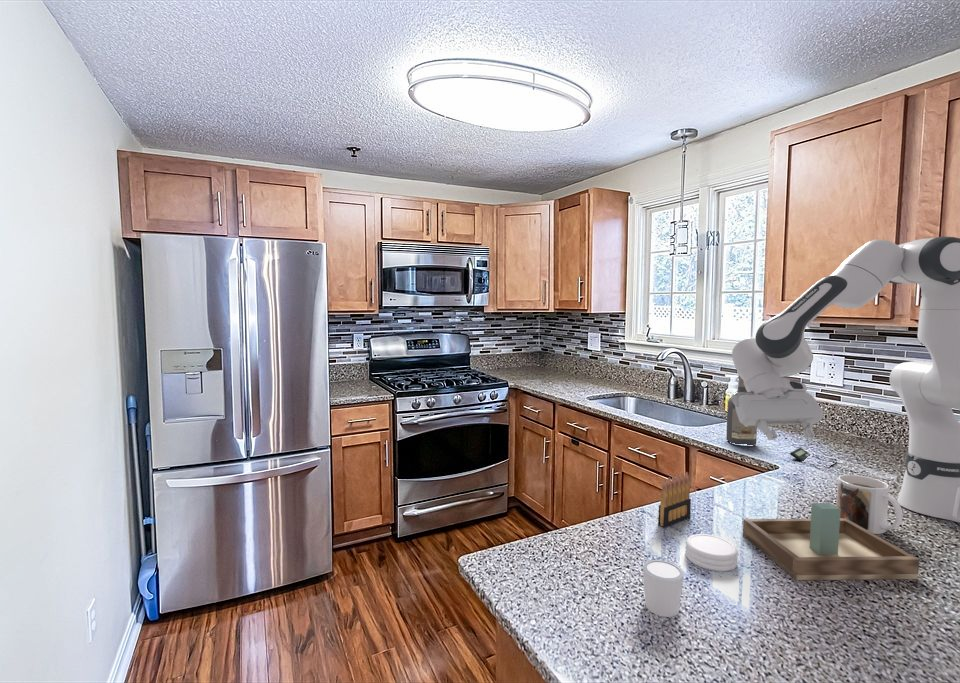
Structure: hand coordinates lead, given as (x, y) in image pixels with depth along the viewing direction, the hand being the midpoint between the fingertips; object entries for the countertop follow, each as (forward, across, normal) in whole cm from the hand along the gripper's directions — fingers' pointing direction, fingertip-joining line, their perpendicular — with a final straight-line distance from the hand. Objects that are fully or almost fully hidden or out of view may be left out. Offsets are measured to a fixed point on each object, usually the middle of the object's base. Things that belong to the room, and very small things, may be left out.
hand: (792, 438), depth 117 cm
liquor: (-34, +29, +65) cm, 79 cm away
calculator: (-18, +42, +50) cm, 67 cm away
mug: (+17, +17, +14) cm, 28 cm away
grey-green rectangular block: (+25, -3, +4) cm, 26 cm away
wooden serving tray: (+26, -3, +5) cm, 26 cm away
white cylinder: (+37, -45, -7) cm, 59 cm away
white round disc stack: (+26, -28, +4) cm, 39 cm away
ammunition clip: (+14, -28, +17) cm, 35 cm away
